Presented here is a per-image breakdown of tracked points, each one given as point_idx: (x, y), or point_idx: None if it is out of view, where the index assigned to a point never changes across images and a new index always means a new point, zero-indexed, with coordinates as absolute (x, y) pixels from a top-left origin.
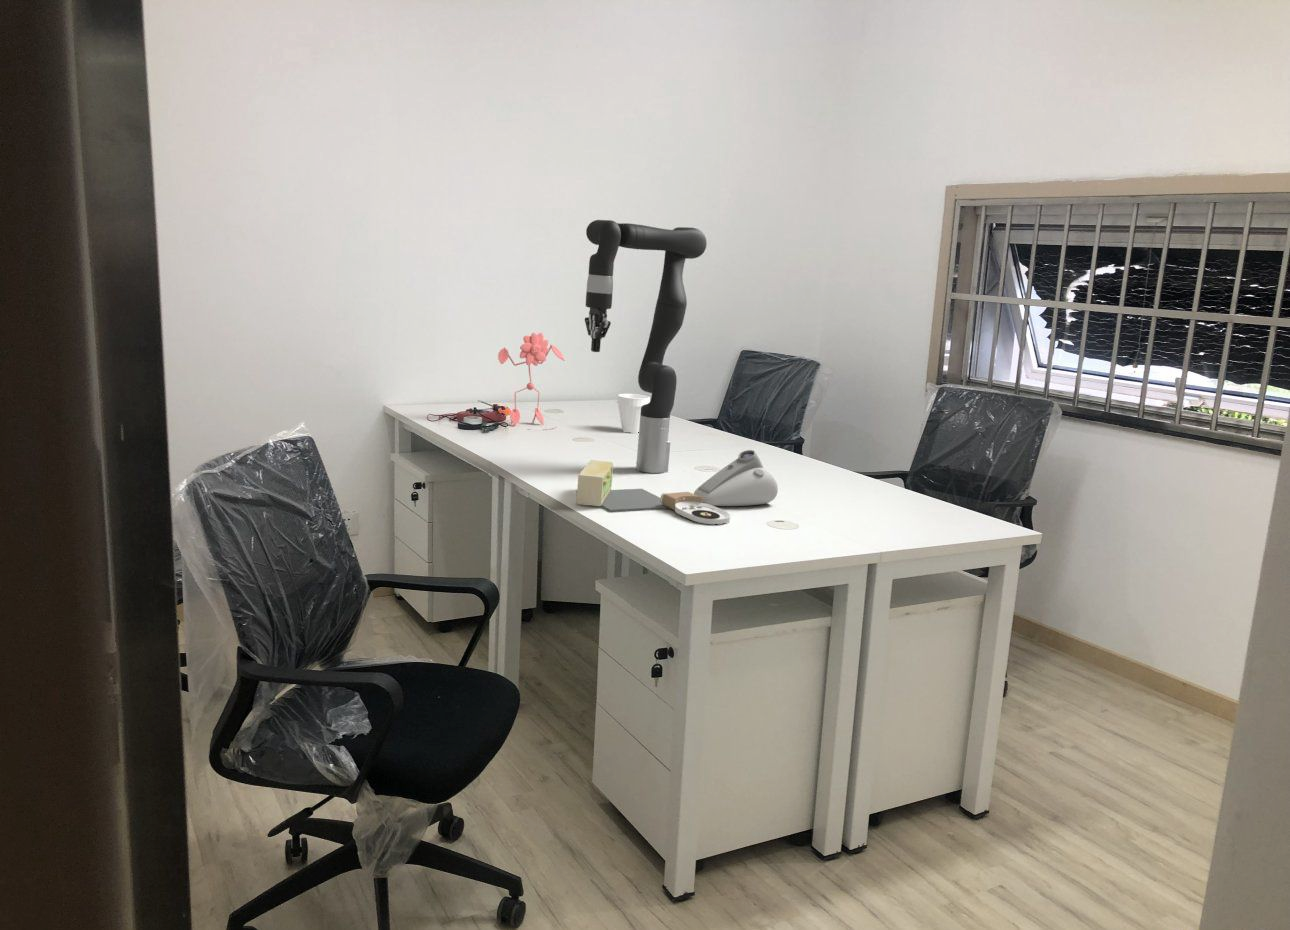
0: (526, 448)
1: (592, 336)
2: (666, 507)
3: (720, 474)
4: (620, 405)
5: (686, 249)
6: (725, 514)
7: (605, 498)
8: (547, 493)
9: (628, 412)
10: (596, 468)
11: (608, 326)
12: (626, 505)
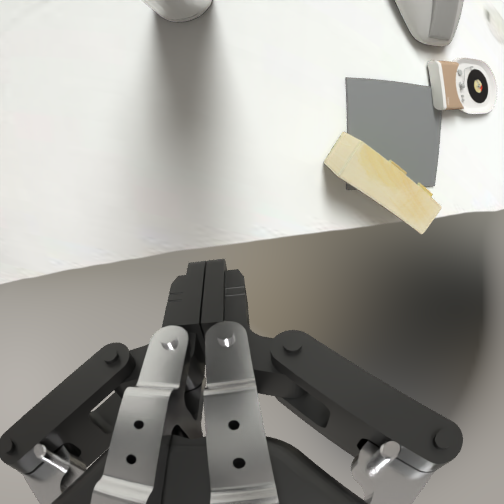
0: (30, 192)
1: (205, 380)
2: None
3: (447, 8)
4: None
5: None
6: (482, 64)
7: None
8: (336, 229)
9: None
10: (398, 193)
11: (427, 415)
12: (425, 155)
